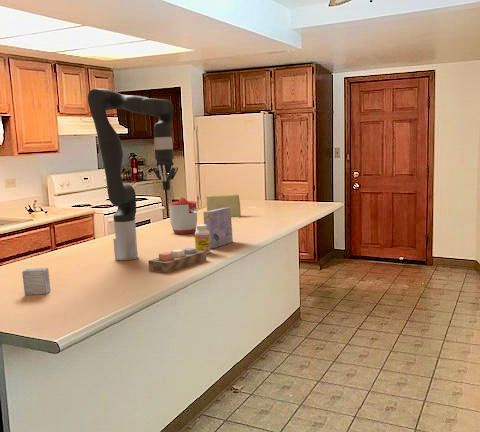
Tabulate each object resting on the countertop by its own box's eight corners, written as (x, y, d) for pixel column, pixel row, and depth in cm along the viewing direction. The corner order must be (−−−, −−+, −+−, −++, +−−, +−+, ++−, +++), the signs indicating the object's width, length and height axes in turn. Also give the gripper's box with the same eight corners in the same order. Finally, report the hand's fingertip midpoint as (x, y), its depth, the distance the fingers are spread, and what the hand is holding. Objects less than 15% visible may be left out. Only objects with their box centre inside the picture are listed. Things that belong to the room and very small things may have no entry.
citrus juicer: (187, 236, 291) (185, 199, 288) (164, 233, 302) (162, 198, 299) (206, 231, 303) (204, 196, 301) (184, 229, 314) (181, 195, 311)
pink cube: (166, 264, 216) (165, 254, 215) (159, 263, 218) (158, 254, 218) (173, 262, 219) (172, 252, 219) (166, 261, 222) (165, 252, 221)
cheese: (243, 216, 355) (242, 193, 353) (237, 218, 346) (236, 195, 344) (213, 215, 364) (212, 193, 362) (206, 218, 355) (205, 195, 353)
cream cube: (178, 261, 222) (177, 251, 221) (171, 260, 224) (170, 251, 223) (185, 259, 225) (184, 250, 224) (177, 258, 227) (177, 249, 227)
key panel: (166, 273, 212) (166, 263, 212) (149, 270, 218) (148, 260, 218) (206, 260, 231) (205, 251, 231) (188, 258, 237) (188, 249, 237)
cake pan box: (226, 241, 273) (224, 206, 270) (234, 241, 270) (232, 206, 268) (204, 248, 257) (202, 211, 254) (213, 249, 254) (211, 212, 251)
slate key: (189, 259, 227) (189, 250, 227) (182, 258, 230) (182, 249, 229) (196, 257, 230) (195, 248, 230) (189, 256, 233) (188, 247, 232)
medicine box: (51, 290, 195) (48, 267, 193) (47, 294, 190) (44, 270, 189) (28, 292, 194) (26, 268, 193) (24, 295, 190) (21, 271, 189)
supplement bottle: (197, 255, 243) (195, 226, 241) (194, 252, 249) (192, 224, 247) (211, 253, 245) (210, 225, 243) (208, 250, 251) (207, 223, 249)
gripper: (181, 147, 222) (184, 189, 225) (158, 148, 230) (161, 189, 232) (169, 148, 216) (171, 191, 219) (145, 149, 224) (148, 190, 226)
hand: (166, 190), depth 225 cm, fingers closed
